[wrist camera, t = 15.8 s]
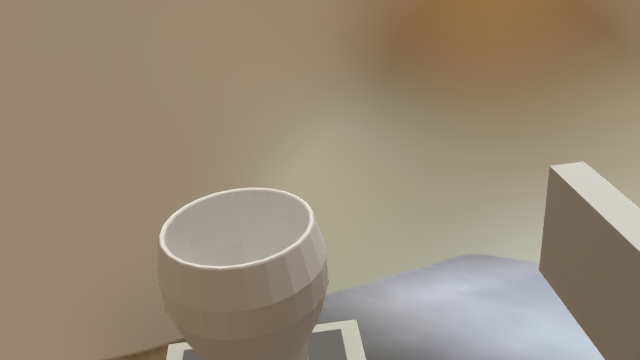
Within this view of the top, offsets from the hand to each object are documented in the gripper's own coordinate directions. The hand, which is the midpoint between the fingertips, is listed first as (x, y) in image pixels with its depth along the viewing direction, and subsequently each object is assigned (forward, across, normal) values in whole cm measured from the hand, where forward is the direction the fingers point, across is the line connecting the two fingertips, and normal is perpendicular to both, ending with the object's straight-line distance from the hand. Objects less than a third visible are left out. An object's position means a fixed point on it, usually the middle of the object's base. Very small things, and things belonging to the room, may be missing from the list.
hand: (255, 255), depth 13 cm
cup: (+21, -3, -26) cm, 34 cm away
